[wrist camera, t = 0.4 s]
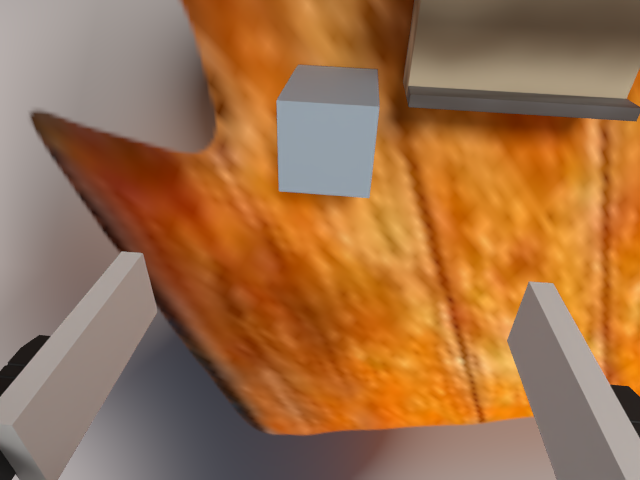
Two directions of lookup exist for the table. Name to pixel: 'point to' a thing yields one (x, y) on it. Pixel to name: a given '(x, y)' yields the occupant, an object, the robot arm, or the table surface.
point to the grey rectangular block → (328, 130)
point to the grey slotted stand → (525, 57)
